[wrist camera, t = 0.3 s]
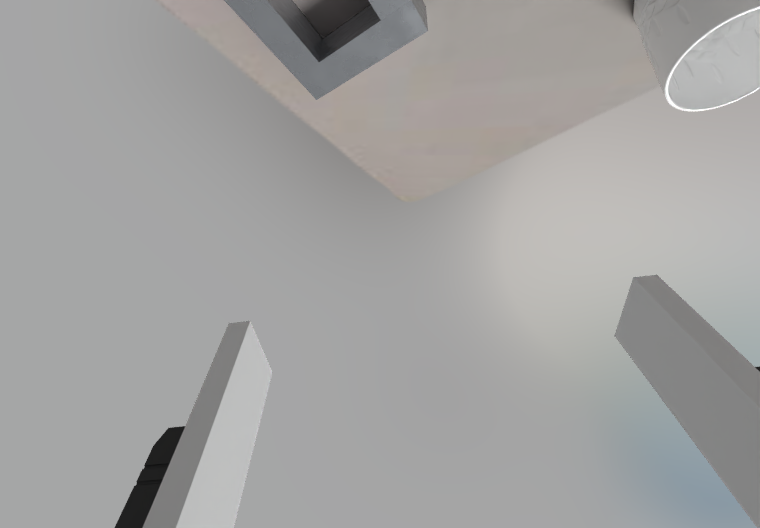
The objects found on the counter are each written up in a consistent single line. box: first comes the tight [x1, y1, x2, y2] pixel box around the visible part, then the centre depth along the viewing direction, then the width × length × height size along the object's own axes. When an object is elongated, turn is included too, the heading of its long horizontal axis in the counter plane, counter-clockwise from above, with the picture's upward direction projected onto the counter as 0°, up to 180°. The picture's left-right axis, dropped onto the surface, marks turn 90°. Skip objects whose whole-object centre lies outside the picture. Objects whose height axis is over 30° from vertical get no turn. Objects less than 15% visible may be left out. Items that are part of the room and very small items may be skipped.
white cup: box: [633, 0, 760, 111], centre depth 29 cm, size 8×8×10 cm
